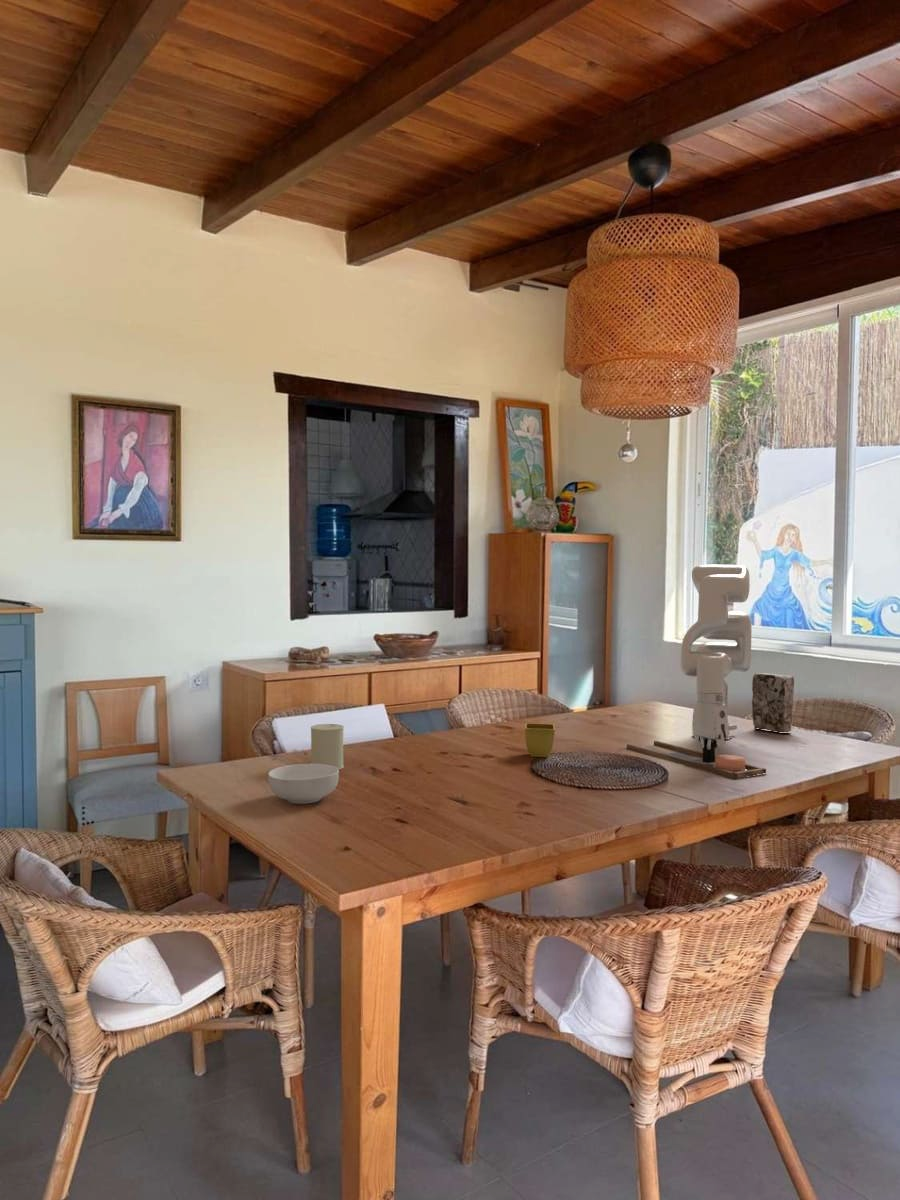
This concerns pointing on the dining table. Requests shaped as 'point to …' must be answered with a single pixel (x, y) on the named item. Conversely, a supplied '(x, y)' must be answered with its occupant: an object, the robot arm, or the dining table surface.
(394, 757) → the dining table surface
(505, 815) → the dining table surface
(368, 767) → the dining table surface
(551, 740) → the flower pot
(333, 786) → the cereal bowl
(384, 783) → the dining table surface
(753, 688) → the stone block
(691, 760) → the trap lane
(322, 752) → the can
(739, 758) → the salmon rounded disc
